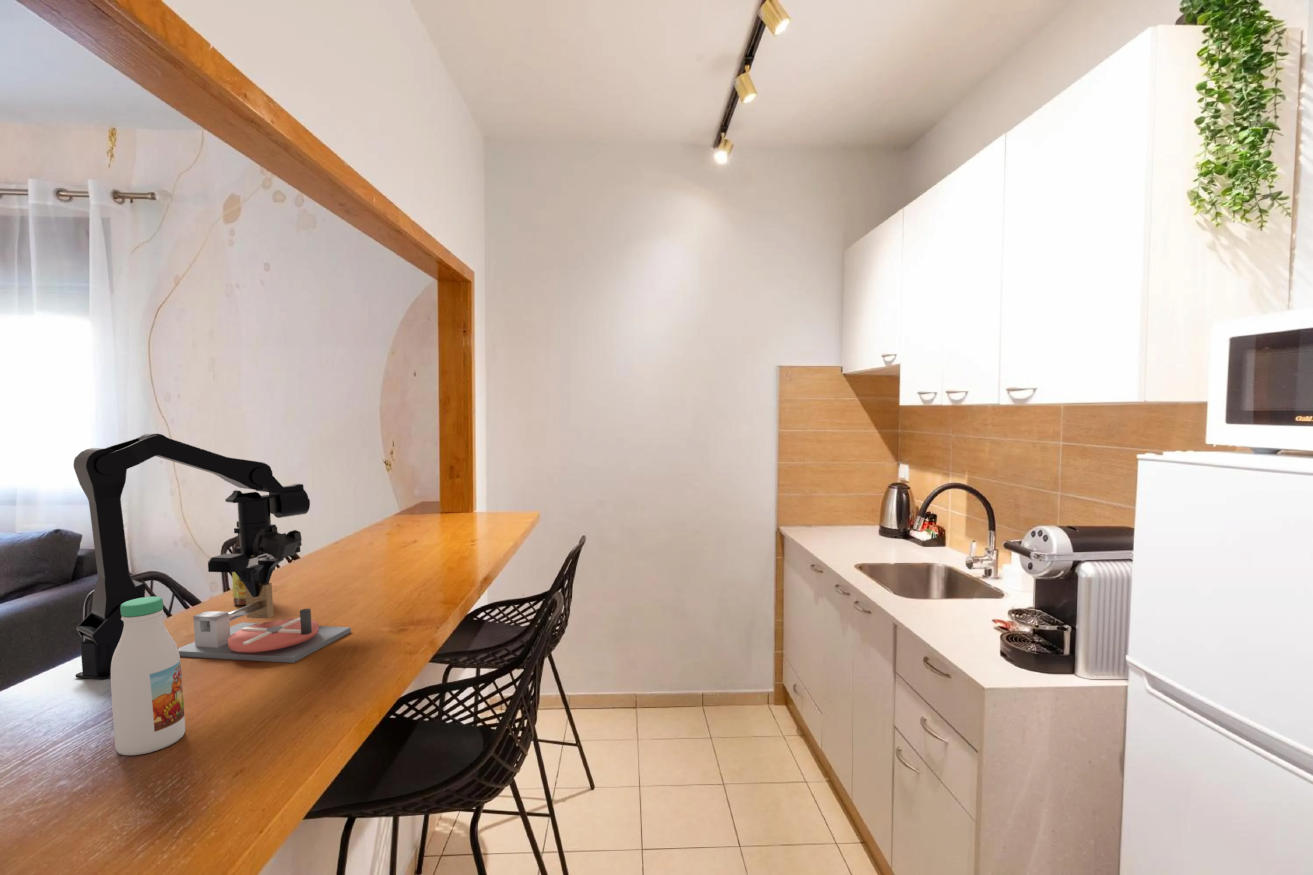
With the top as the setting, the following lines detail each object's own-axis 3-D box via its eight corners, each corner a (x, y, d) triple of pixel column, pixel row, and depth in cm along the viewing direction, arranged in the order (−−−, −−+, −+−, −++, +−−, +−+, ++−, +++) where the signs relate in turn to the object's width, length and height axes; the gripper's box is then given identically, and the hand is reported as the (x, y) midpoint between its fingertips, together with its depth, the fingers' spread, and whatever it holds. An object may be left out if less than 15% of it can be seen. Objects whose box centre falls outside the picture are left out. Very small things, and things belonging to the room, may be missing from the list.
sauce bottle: (239, 608, 153) (234, 523, 152) (228, 603, 157) (223, 521, 156) (269, 600, 158) (264, 519, 157) (258, 596, 162) (253, 516, 161)
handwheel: (281, 654, 117) (279, 623, 117) (208, 650, 120) (206, 620, 120) (337, 625, 132) (335, 598, 132) (270, 622, 135) (269, 596, 135)
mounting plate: (293, 662, 119) (291, 625, 118) (172, 655, 124) (170, 619, 124) (350, 632, 135) (349, 598, 134) (241, 626, 140) (239, 594, 139)
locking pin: (222, 637, 126) (220, 601, 126) (200, 636, 127) (198, 600, 127) (273, 615, 138) (271, 583, 138) (253, 615, 139) (251, 582, 139)
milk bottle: (129, 763, 86) (118, 612, 85) (105, 748, 90) (95, 604, 89) (196, 736, 92) (186, 596, 91) (171, 723, 97) (161, 589, 96)
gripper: (252, 530, 126) (257, 610, 127) (320, 514, 145) (323, 584, 146) (203, 530, 129) (208, 608, 129) (276, 514, 147) (279, 583, 148)
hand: (259, 595), depth 138 cm, fingers closed on locking pin, 2 cm apart
